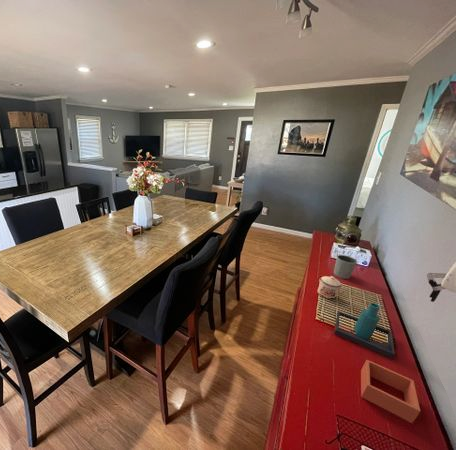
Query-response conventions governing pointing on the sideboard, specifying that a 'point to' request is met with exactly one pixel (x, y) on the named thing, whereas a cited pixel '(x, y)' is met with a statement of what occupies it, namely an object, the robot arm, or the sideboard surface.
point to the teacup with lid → (330, 287)
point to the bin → (385, 400)
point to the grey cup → (344, 266)
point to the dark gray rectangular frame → (368, 343)
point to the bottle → (367, 321)
